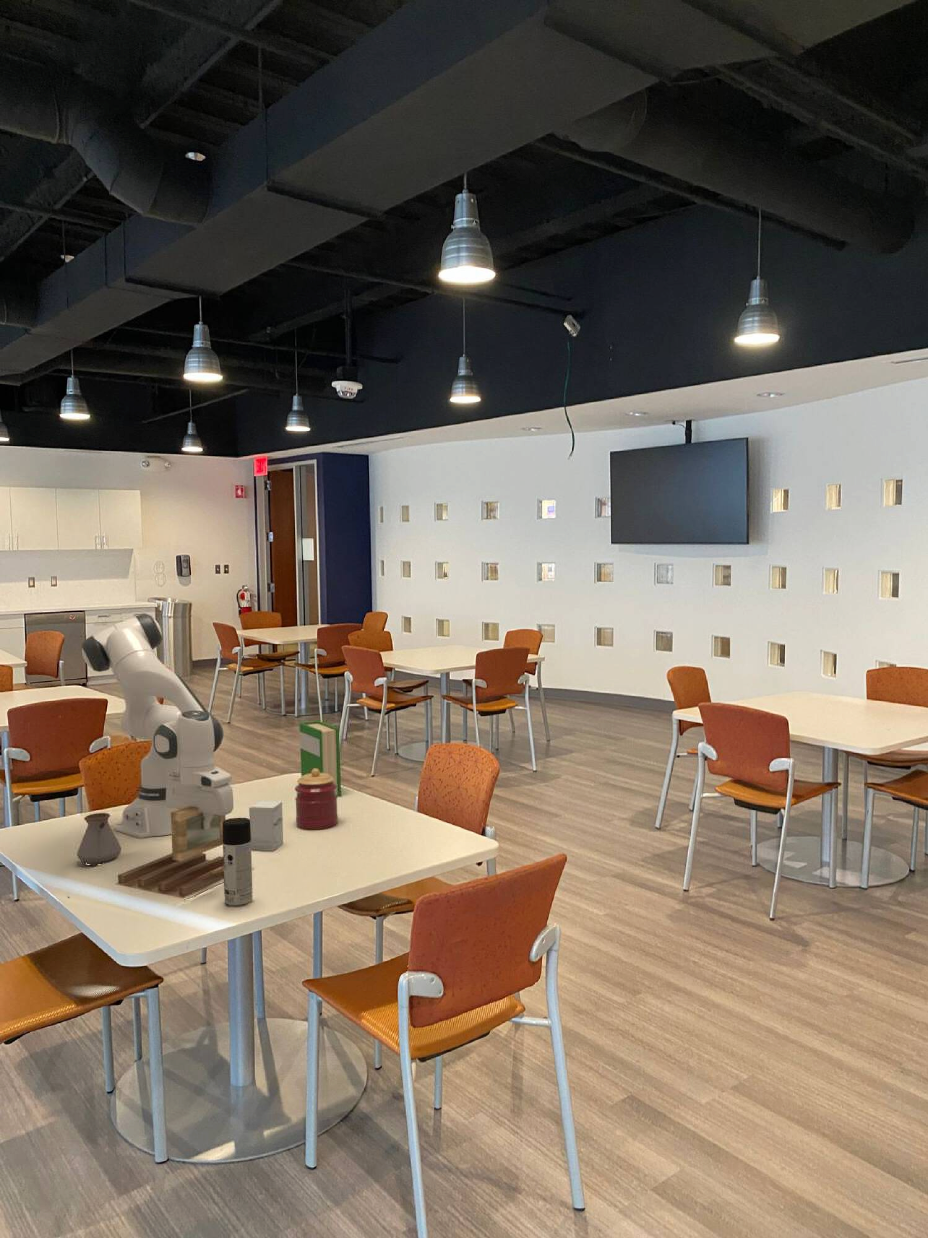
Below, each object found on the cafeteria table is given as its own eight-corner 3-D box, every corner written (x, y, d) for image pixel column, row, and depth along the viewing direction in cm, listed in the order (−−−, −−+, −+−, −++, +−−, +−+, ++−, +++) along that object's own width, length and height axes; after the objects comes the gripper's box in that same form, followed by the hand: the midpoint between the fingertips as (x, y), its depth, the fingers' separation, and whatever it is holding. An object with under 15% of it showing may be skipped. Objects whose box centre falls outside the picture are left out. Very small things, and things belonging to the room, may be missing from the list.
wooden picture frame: (172, 859, 228) (170, 812, 227) (217, 841, 242) (216, 797, 241) (181, 861, 226) (179, 813, 226) (226, 843, 241) (224, 798, 240)
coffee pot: (75, 859, 256) (73, 806, 255) (119, 852, 262) (116, 800, 260) (82, 882, 237) (79, 826, 236) (128, 874, 243) (126, 819, 242)
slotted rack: (115, 887, 233) (114, 874, 233) (184, 859, 254) (183, 846, 254) (182, 902, 222) (182, 887, 222) (248, 870, 244) (247, 857, 243)
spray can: (227, 897, 225) (224, 817, 224) (255, 895, 226) (252, 816, 224) (222, 907, 218) (219, 825, 217) (251, 906, 219) (248, 824, 218)
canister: (330, 831, 277) (329, 774, 276) (290, 830, 279) (288, 773, 278) (343, 818, 290) (341, 764, 289) (304, 817, 292) (302, 763, 291)
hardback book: (341, 796, 317) (339, 728, 315) (321, 800, 313) (319, 730, 311) (321, 786, 332) (318, 721, 330) (301, 789, 328) (299, 723, 326)
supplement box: (274, 851, 259) (272, 808, 258) (249, 850, 261) (248, 807, 260) (284, 843, 266) (282, 801, 266) (260, 842, 268) (259, 800, 267)
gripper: (158, 773, 235) (160, 826, 236) (219, 781, 226) (221, 836, 226) (176, 768, 241) (178, 820, 242) (236, 776, 231) (238, 829, 232)
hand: (199, 828), depth 234 cm, fingers closed on wooden picture frame, 3 cm apart
